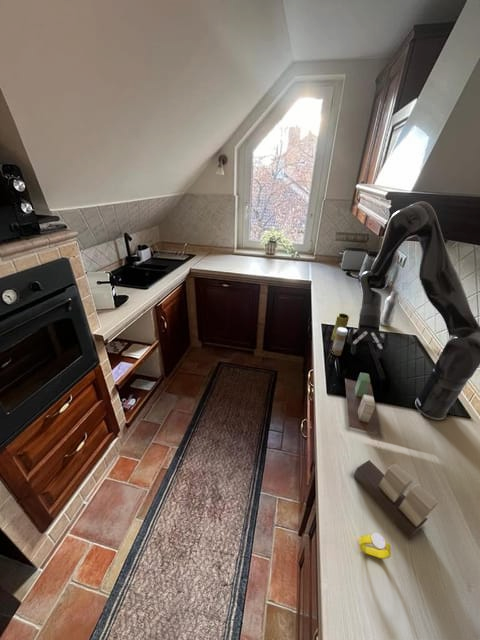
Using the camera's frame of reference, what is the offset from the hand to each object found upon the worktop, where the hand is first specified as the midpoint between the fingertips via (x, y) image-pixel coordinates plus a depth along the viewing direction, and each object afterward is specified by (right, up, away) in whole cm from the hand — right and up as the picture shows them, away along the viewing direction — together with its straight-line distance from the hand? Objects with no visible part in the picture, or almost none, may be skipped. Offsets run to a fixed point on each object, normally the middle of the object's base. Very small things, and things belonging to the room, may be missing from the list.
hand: (365, 356), depth 98 cm
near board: (-4, -17, -5) cm, 18 cm away
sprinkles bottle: (-3, -2, +22) cm, 23 cm away
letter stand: (-11, -33, -32) cm, 47 cm away
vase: (+1, +4, +32) cm, 33 cm away
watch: (-19, -38, -41) cm, 59 cm away
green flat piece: (-3, -14, -1) cm, 14 cm away
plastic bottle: (+34, +12, +47) cm, 59 cm away
